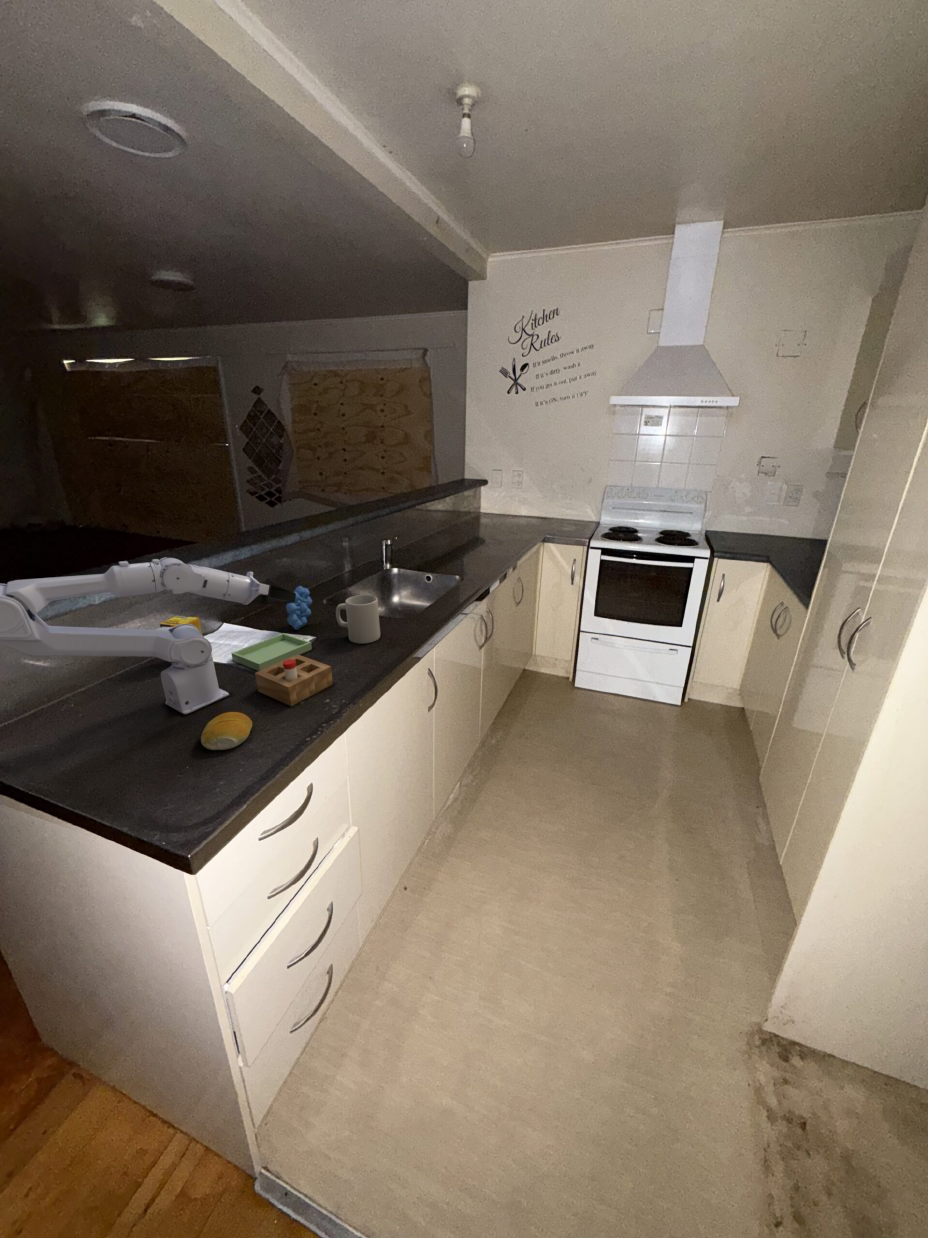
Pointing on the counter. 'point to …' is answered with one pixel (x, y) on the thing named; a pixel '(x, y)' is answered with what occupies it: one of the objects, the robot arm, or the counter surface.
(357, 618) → the mug
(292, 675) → the marker
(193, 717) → the counter surface
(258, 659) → the tray
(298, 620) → the grapes
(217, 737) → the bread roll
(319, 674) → the pen holder
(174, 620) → the supplement box
